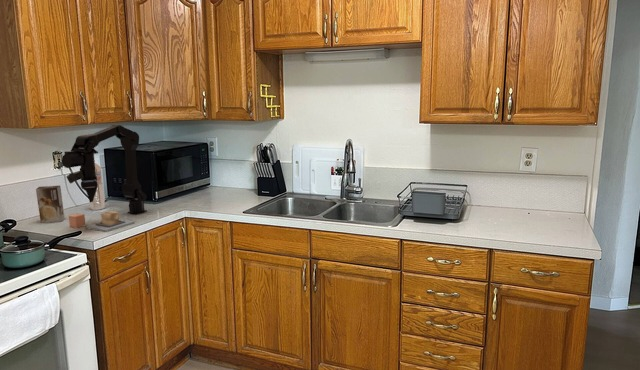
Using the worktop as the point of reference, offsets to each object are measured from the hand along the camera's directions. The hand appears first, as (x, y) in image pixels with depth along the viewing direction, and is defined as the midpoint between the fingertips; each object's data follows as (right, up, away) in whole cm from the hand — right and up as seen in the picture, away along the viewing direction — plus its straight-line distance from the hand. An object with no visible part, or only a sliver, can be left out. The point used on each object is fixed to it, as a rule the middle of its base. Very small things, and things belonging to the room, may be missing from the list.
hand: (91, 200), depth 209 cm
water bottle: (-13, -6, +35) cm, 38 cm away
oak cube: (+7, -11, +2) cm, 13 cm away
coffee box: (-24, -10, +12) cm, 29 cm away
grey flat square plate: (+8, -11, +2) cm, 14 cm away
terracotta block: (-7, -12, +3) cm, 14 cm away
